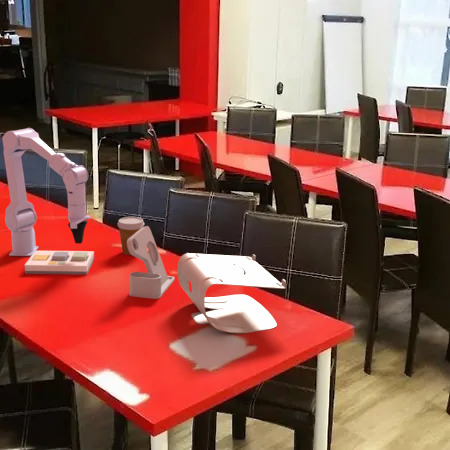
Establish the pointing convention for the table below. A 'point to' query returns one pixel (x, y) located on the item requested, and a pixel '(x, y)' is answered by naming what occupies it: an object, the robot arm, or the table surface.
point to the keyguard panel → (58, 264)
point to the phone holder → (147, 267)
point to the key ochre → (41, 257)
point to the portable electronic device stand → (228, 305)
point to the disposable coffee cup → (128, 230)
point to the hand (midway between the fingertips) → (78, 242)
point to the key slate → (60, 256)
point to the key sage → (80, 256)
